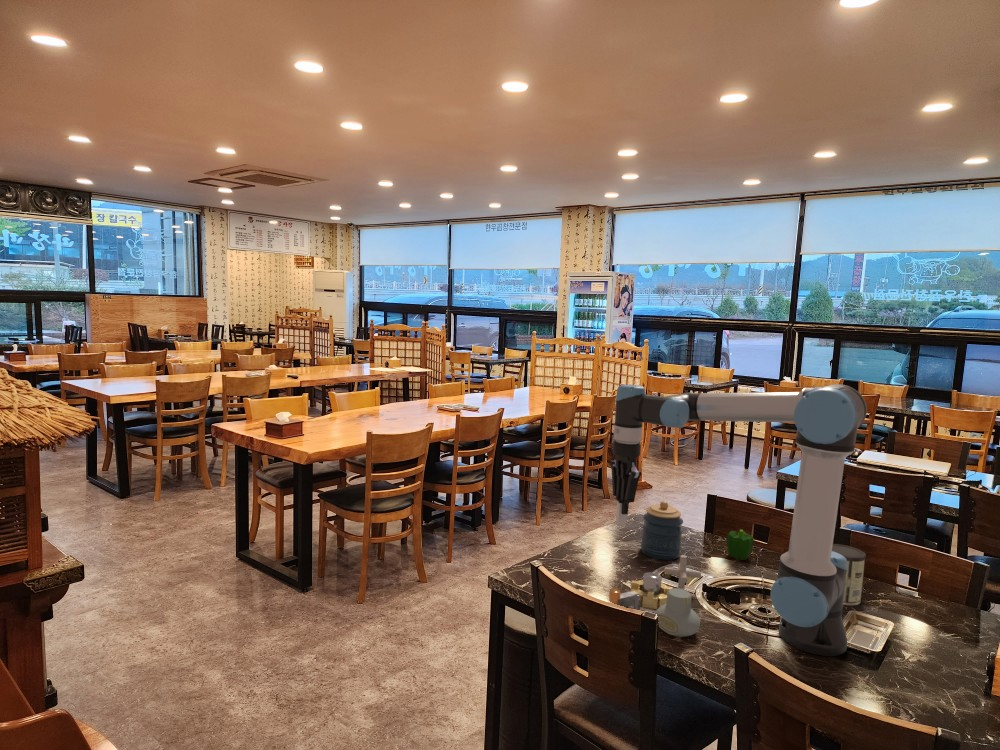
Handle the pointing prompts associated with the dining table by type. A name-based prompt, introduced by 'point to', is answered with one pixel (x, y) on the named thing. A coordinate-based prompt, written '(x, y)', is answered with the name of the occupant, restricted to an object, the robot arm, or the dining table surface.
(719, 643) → the dining table surface
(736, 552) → the bell pepper
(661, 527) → the canister
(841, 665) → the dining table surface
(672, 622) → the air freshener
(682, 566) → the pipe connector
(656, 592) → the gold and silver mechanism
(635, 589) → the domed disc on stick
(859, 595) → the coffee can
